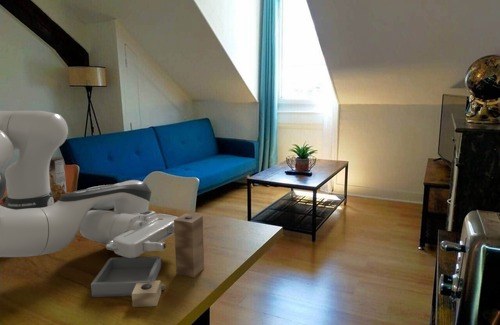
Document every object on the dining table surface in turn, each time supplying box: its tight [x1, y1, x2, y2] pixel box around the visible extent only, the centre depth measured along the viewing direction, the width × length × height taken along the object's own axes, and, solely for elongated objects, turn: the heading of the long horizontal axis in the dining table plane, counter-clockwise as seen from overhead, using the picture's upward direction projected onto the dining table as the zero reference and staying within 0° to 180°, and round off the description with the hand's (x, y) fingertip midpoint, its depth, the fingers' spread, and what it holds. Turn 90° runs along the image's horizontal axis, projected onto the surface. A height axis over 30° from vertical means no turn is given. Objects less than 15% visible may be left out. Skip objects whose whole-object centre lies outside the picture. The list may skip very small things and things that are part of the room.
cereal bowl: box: [87, 184, 115, 211], centre depth 138 cm, size 17×17×7 cm
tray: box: [90, 255, 162, 298], centre depth 83 cm, size 13×13×3 cm
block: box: [173, 213, 205, 278], centre depth 87 cm, size 5×5×14 cm
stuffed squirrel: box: [49, 175, 67, 203], centre depth 137 cm, size 10×14×13 cm
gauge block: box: [131, 279, 166, 308], centre depth 77 cm, size 6×7×3 cm
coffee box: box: [49, 156, 68, 193], centre depth 157 cm, size 9×6×16 cm
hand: (175, 239), depth 88 cm, fingers open, 8 cm apart
